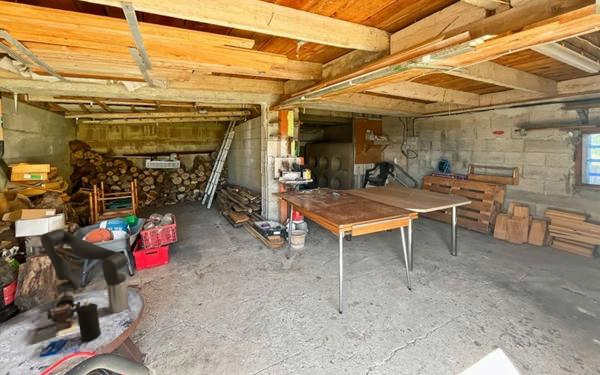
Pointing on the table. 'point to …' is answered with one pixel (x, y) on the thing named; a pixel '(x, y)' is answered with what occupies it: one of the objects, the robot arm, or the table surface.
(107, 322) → the table surface
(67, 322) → the box
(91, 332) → the aerosol can
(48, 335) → the open rectangular frame
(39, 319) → the table surface
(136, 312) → the table surface
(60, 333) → the pad
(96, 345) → the table surface
